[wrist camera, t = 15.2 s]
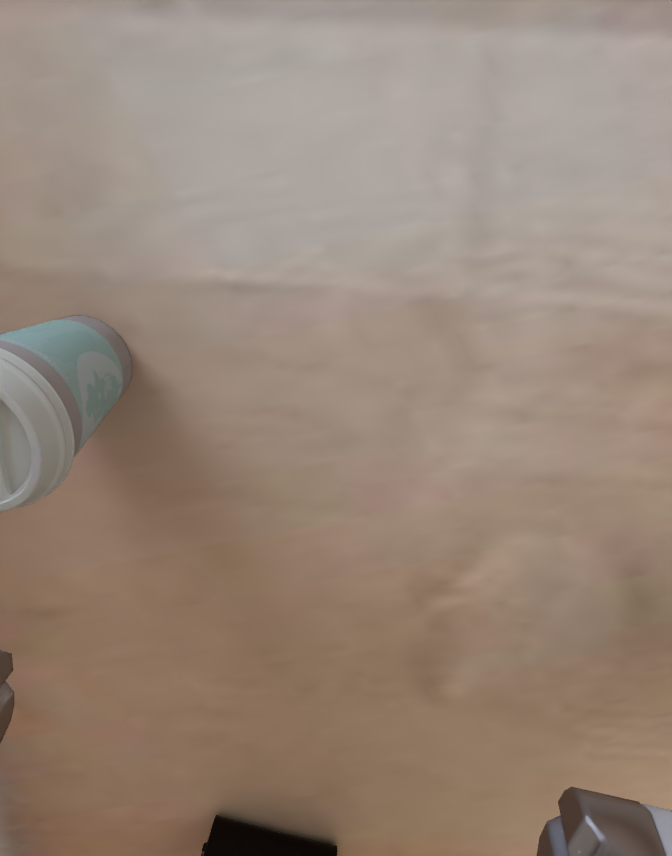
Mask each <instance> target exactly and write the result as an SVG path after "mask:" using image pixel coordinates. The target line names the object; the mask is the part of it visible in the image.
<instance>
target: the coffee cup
mask: <svg viewBox="0 0 672 856" xmlns="http://www.w3.org/2000/svg"><path fill="white" fill-rule="evenodd" d="M131 375H132V362H131V358H130V354H129V352H128V349H127V347H126V345H125V343H124V342H123V340H122V339H121V338H120V336H119V335H118V334H117V333H116V332H115V331H114V330H113V329H112V328H110V327H109V326H108V325H106V324H105V323H103V322H101V321H99V320H97V319H94V318H91V317H87V316H69V317H65V318H61V319H57V320H53V321H49V322H46V323H42V324H38V325H34V326H31V327H27V328H23V329H19V330H16V331H12V332H8V333H4V334H1V335H0V512H3V511H7V510H10V509H13V508H15V507H20V506H24V505H28V504H31V503H33V502H35V501H37V500H39V499H41V498H42V497H44V496H46V495H48V494H49V493H51V492H52V491H54V490H55V489H56V488H57V487H58V486H59V485H60V484H61V483H62V482H63V480H64V479H65V478H66V476H67V474H68V472H69V470H70V468H71V465H72V461H73V458H74V457H75V455H76V454H77V453H78V452H79V450H80V449H81V448H82V446H83V445H84V444H85V442H86V441H87V440H88V439H89V437H90V436H91V435H92V433H93V432H94V431H95V429H96V428H97V427H98V426H99V424H100V423H101V422H102V420H103V419H104V418H105V417H106V415H107V414H108V413H109V411H110V410H111V409H112V407H113V406H114V405H115V404H116V402H117V401H118V399H119V398H120V397H121V395H122V394H123V393H124V391H125V390H126V389H127V387H128V385H129V383H130V380H131Z"/></svg>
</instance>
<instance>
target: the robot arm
mask: <svg viewBox="0 0 672 856" xmlns="http://www.w3.org/2000/svg"><path fill="white" fill-rule="evenodd" d="M12 671H13V661H12V653H8V652H5V651H1V650H0V743H1V741H2V739H3V737H4V735H5V733H6V730H7V728H8V726H9V724H10V721H11V718H12V714H13V709H14V691H13V690H12V689H11V687H10V686H9V685H8V683H7V682H6V681H5V680H6V679H7V678H8V676H9V675H10V674H11V672H12ZM558 804H559V809H560V814H561V815H560V816H558V817H556V818H553V819H551V820H549V821H547V823H546V825H545V827H544V829H543V831H542V833H541V835H540V838H539V844H538V851H537V856H672V811H671V810H667V809H663V808H659V807H654V806H650V805H646V804H640V803H639V802H637V801H633V800H628V799H624V798H620V797H615V796H611V795H606V794H602V793H597V792H593V791H589V790H584V789H580V788H575V787H570V788H568V789H567V790H565V791H564V792H563V794H562V796H561V798H560V799H559V801H558Z"/></svg>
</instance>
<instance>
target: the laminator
mask: <svg viewBox="0 0 672 856" xmlns="http://www.w3.org/2000/svg"><path fill="white" fill-rule="evenodd" d="M201 856H337V846H336V845H335V846H331V845H326V844H322V843H318V842H314V841H310V840H306V839H303V838H299V837H295V836H291V835H287V834H283V833H278V832H274V831H271V830H267V829H263V828H259V827H255V826H251V825H248V824H243V823H240V822H236V821H232V820H228V819H225V818H221V817H219V816H218V815H216V817H215V819H214V822H213V826H212V829H211V832H210V836H209V839H208V841H207V843H204V845H203V848H202V854H201Z"/></svg>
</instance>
